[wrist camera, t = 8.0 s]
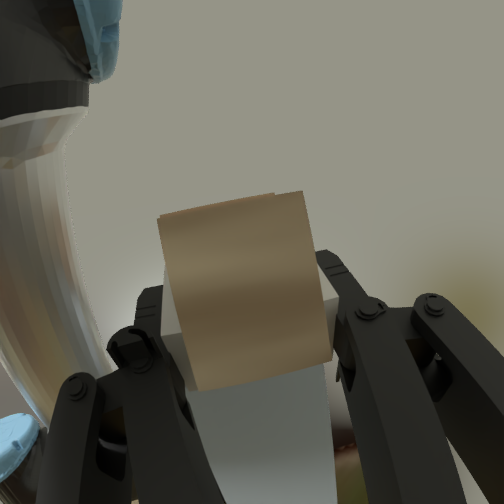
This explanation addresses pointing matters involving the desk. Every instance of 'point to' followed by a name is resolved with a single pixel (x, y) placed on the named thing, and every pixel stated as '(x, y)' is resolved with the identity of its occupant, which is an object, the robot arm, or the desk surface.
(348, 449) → the desk surface
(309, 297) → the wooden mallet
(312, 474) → the pedestal
